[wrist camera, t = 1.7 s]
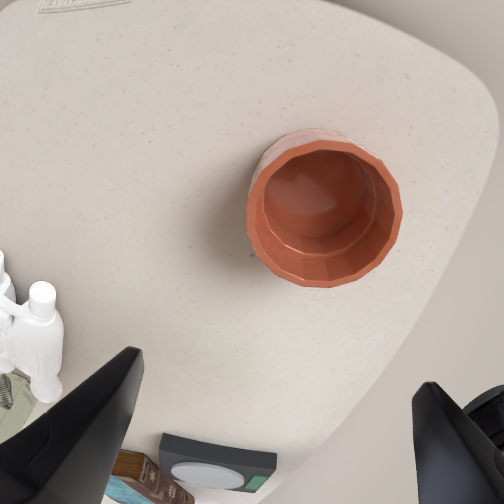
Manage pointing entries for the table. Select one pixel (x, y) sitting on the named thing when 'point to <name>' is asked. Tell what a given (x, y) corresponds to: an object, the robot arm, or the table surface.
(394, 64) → the table surface
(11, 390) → the box
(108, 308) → the table surface
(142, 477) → the book
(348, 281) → the pot
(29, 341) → the binoculars
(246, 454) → the scale
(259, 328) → the table surface
